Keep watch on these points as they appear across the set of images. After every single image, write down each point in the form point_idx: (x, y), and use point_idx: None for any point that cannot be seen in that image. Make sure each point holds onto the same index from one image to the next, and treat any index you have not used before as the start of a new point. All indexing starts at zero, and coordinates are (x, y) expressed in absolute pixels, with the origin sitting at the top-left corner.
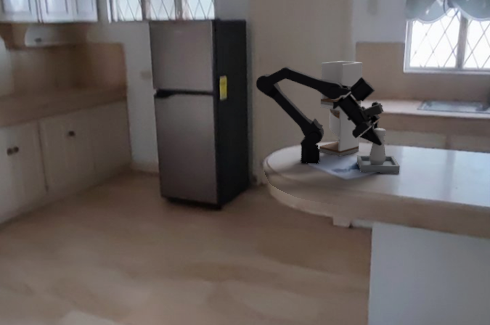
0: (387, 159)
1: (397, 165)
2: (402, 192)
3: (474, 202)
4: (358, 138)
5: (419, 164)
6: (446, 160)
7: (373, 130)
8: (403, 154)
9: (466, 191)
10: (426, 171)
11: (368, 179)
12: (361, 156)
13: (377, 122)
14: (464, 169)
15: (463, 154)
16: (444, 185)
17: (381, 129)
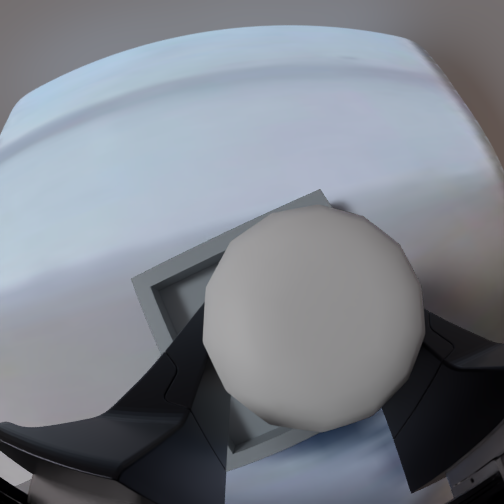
0: (163, 306)
1: (318, 200)
2: (475, 159)
3: (406, 46)
4: (24, 487)
5: (135, 173)
6: (69, 127)
7: (489, 354)
8: (23, 276)
9: (356, 46)
10: (228, 126)
11: (458, 291)
12: (229, 447)
13: (120, 464)
14: (156, 66)
15: (18, 125)
16: (350, 74)
17: (364, 264)
